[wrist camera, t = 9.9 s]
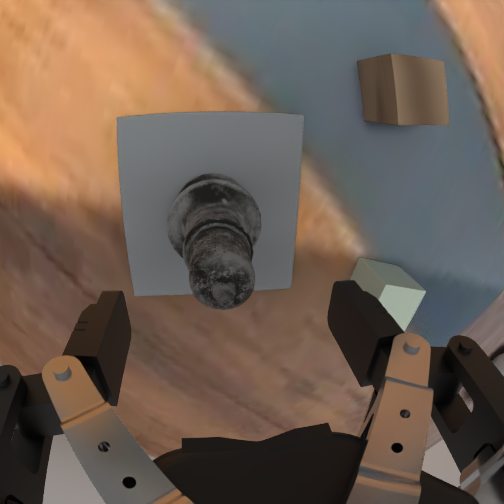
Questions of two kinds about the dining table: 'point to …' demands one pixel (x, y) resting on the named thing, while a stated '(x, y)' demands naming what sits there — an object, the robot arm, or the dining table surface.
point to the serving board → (205, 162)
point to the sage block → (390, 288)
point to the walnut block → (404, 90)
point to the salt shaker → (216, 238)
